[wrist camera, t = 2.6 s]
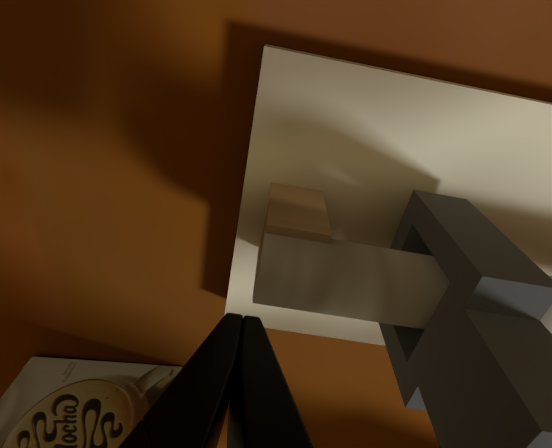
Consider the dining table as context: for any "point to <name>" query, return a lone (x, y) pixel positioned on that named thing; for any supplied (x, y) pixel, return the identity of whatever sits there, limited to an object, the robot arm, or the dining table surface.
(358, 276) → the pipe stand
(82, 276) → the dining table surface
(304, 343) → the dining table surface
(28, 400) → the coffee box
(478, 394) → the dark angular block
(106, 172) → the dining table surface
